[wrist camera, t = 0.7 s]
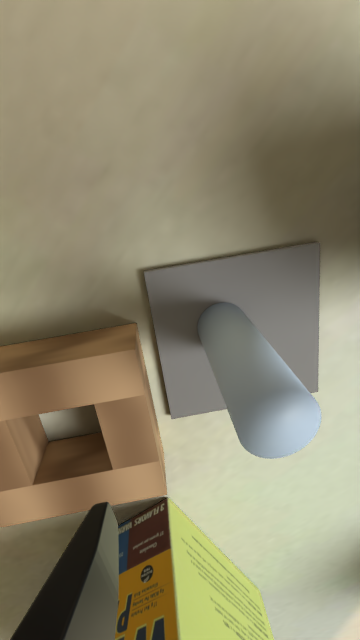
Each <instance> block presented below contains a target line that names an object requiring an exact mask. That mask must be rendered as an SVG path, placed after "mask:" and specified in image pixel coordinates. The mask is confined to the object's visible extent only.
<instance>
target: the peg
mask: <svg viewBox="0 0 360 640" xmlns="http://www.w3.org/2000/svg"><path fill="white" fill-rule="evenodd" d="M197 329H198V334H199V337H200V340H201V342H202V345H203V347H204V350H205V352H206V355H207V358H208V360H209V363H210V365H211V368H212V371H213V373H214V376H215V378H216V381H217V384H218V386H219V389H220V391H221V394H222V396H223V399H224V402H225V404H226V407H227V409H228V412H229V415H230V417H231V420H232V422H233V425H234V428H235V430H236V433H237V435H238V438H239V440H240V443H241V444H242V446H243V447H244V448H245V449H246V450H247V451H248V452H250V453H251V454H253V455H255V456H258V457H262V458H270V459H272V458H281V457H285V456H288V455H291V454H293V453H296V452H297V451H299V450H301V449H302V448H304V447H305V446H306V445H307V444H308V443H309V442H310V441H311V440H312V439H313V438H314V436H315V435H316V433H317V431H318V429H319V427H320V423H321V410H320V407H319V404H318V403H317V401H316V400H315V398H314V397H313V396H312V395H311V394H310V392H309V391H308V390H307V389H306V387H305V386H304V385H303V384H302V383H301V381H300V380H299V379H298V378H297V376H296V375H295V374H294V373H293V372H292V370H291V369H290V368H289V367H288V366H287V364H286V363H285V362H284V361H283V359H282V358H281V357H280V356H279V355H278V353H277V352H276V351H275V350H274V349H273V347H272V346H271V345H270V344H269V342H268V341H267V340H266V339H265V338H264V336H263V335H262V334H261V333H260V332H259V330H258V329H257V328H256V327H255V325H254V324H253V323H252V322H251V321H250V319H249V318H248V317H247V316H246V315H245V313H244V312H243V311H242V310H241V309H240V308H239V307H238V306H236V305H234V304H232V303H227V302H222V303H217V304H214V305H212V306H210V307H208V308H207V309H206V310H205V311H204V312H203V313H202V315H201V316H200V318H199V321H198V326H197Z"/></svg>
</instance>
